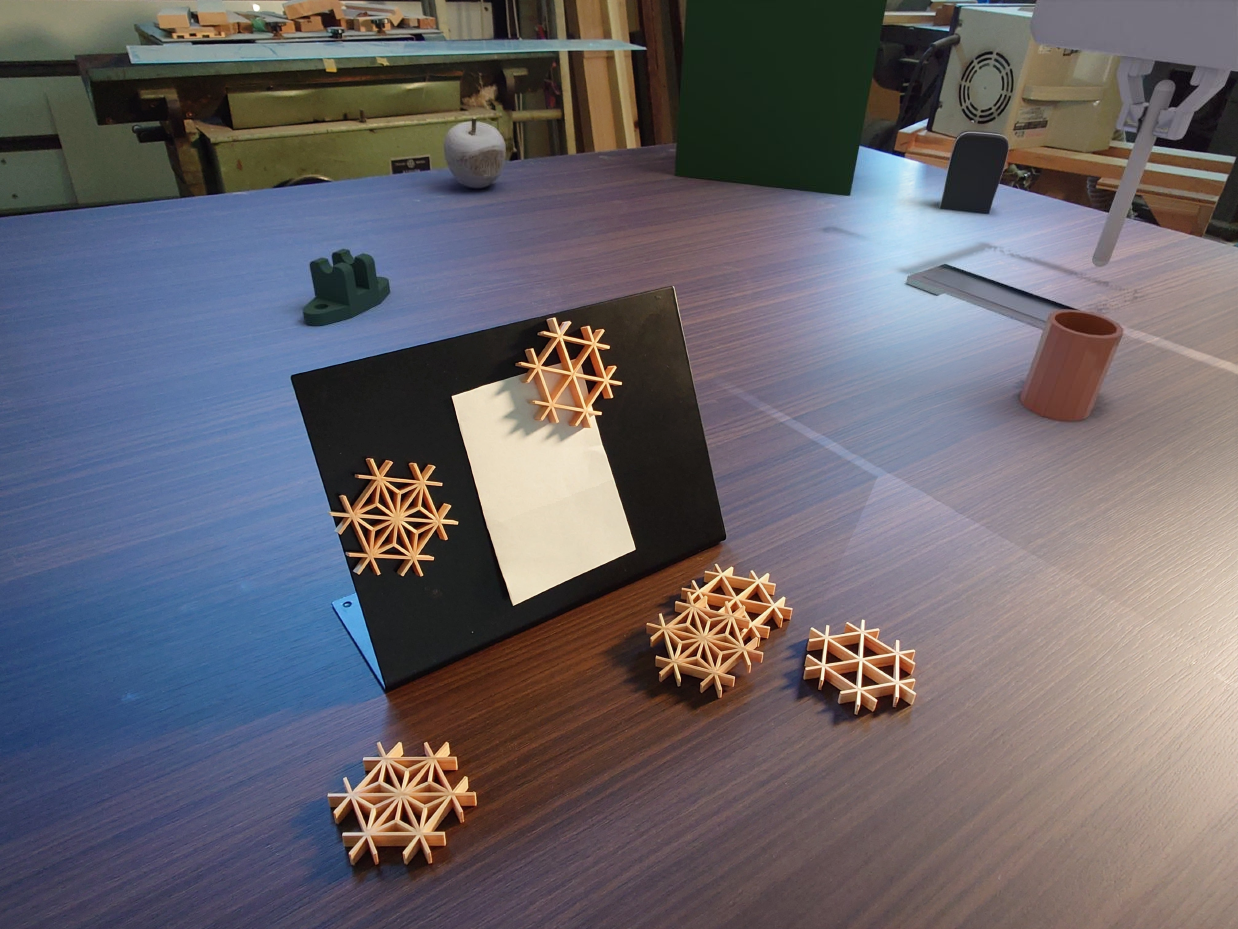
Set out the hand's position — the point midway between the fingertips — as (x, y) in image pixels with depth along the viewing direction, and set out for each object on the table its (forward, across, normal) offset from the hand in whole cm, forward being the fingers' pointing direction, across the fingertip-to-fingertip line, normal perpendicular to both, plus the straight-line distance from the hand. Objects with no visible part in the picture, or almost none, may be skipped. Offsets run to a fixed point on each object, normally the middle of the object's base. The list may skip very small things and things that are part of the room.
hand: (1148, 133), depth 57 cm
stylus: (+10, 0, 0) cm, 10 cm away
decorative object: (+22, +83, +9) cm, 86 cm away
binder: (+22, +66, -34) cm, 78 cm away
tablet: (+22, +15, -21) cm, 34 cm away
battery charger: (+22, +35, -41) cm, 58 cm away
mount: (+22, +52, +41) cm, 70 cm away
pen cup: (+22, -1, +1) cm, 22 cm away
